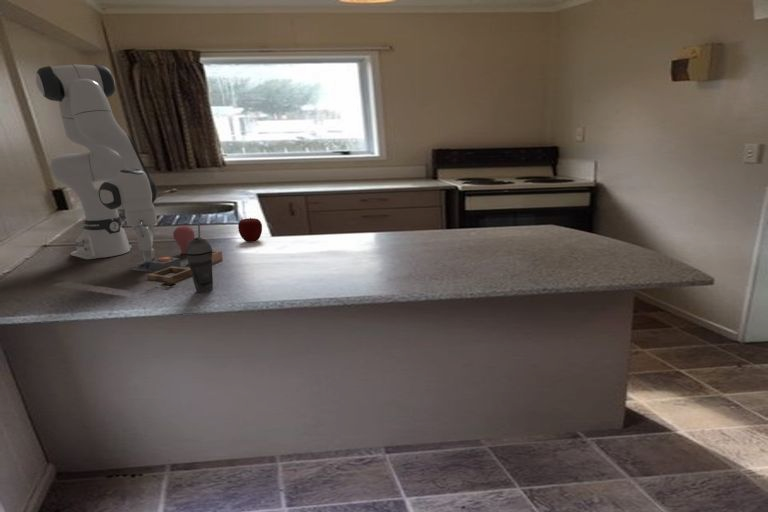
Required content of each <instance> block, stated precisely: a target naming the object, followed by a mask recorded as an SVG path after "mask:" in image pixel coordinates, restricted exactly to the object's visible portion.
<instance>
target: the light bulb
mask: <svg viewBox="0 0 768 512" xmlns="http://www.w3.org/2000/svg"><path fill="white" fill-rule="evenodd" d="M194 238H195V232H194V229H193V228H192V227H190V226H188V225H179V226H177V227H176V228H175V229H174V230H173V239H174V241H175V243H176V244H177V245H178V246H179V249H180V253H181V254H182V255H186V254H185V253H186V251H185V250H186V246H187V244H188V242H189V241H190V240H192V239H194Z"/></svg>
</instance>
